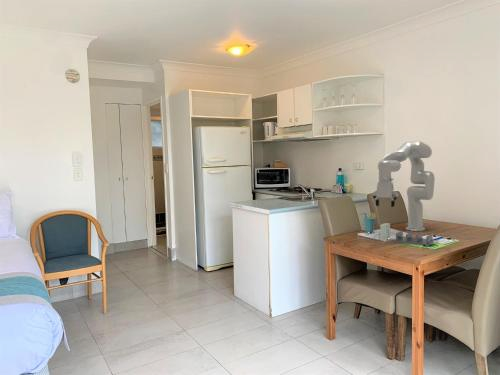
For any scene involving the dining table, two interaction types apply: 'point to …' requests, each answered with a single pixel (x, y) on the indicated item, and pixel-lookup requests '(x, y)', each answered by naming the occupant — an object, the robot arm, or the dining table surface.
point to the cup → (369, 222)
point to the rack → (414, 239)
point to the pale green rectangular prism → (385, 231)
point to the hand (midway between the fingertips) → (385, 206)
